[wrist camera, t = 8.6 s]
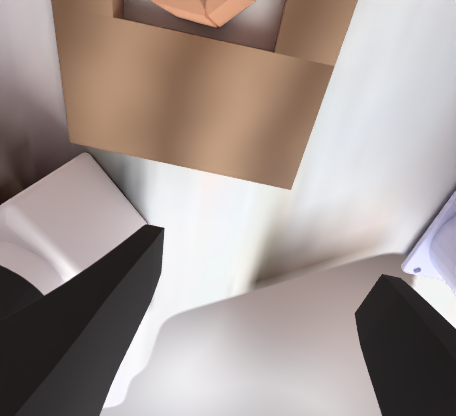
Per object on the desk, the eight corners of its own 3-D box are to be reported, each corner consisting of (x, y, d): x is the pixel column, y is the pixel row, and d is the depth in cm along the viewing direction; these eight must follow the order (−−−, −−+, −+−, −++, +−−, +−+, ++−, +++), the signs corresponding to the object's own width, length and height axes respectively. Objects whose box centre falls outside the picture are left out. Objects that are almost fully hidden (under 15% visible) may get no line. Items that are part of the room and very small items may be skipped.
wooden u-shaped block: (373, -66, 12) (384, -76, 11) (289, 181, 18) (290, 189, 17) (50, -139, 12) (30, -156, 10) (80, 136, 18) (70, 142, 17)
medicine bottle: (23, 190, 21) (-204, 335, 11) (88, 149, 18) (-125, 284, 8) (89, 255, 24) (-40, 418, 14) (152, 227, 21) (54, 397, 11)
